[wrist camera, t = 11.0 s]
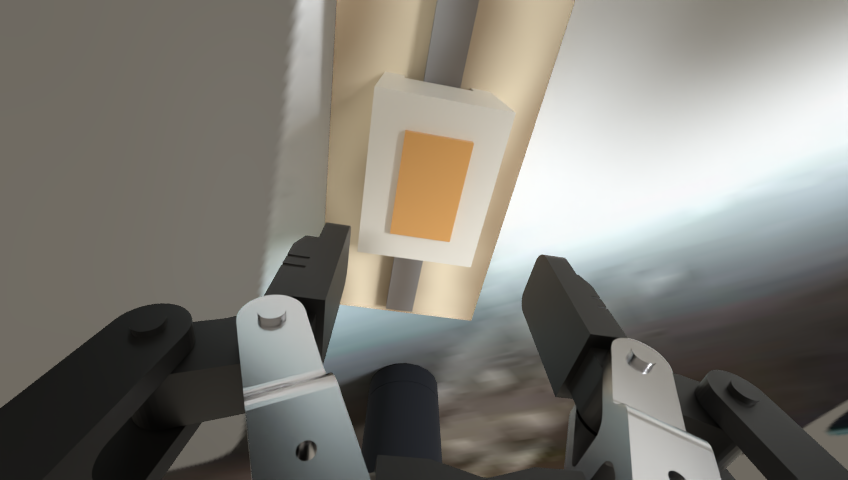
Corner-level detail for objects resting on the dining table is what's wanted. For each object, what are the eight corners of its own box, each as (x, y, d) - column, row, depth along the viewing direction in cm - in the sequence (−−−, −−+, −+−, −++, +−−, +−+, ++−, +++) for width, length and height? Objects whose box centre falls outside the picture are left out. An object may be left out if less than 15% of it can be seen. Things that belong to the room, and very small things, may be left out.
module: (489, 91, 21) (517, 114, 15) (458, 215, 25) (471, 270, 19) (385, 71, 20) (373, 87, 14) (370, 202, 24) (356, 254, 18)
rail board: (598, -95, 18) (618, -108, 16) (469, 312, 30) (472, 329, 29) (349, -160, 16) (341, -183, 15) (323, 293, 29) (317, 310, 27)
